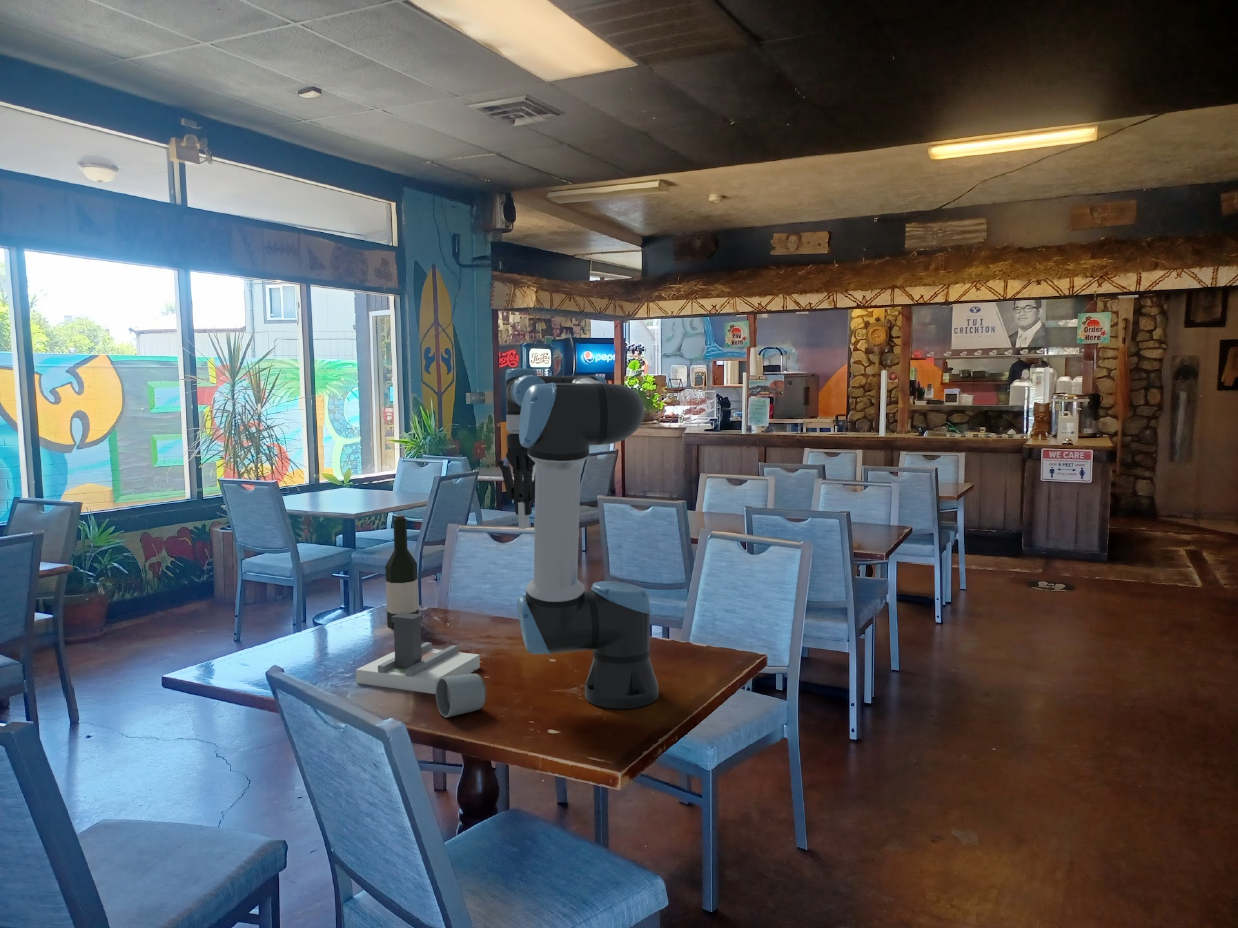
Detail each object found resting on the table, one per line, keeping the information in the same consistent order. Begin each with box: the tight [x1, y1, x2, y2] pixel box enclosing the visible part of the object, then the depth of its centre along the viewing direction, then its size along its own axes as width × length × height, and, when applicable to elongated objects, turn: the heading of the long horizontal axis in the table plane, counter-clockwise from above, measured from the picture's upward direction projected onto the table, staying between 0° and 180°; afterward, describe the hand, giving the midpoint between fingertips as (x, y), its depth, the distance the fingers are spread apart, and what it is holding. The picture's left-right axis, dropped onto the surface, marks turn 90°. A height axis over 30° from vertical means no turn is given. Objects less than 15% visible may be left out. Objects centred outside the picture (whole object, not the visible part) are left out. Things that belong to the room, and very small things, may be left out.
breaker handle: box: [391, 613, 424, 668], centre depth 180 cm, size 6×4×11 cm, turn 69°
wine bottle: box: [385, 514, 420, 630], centre depth 224 cm, size 8×8×30 cm
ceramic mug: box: [435, 672, 488, 718], centre depth 163 cm, size 11×8×8 cm
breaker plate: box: [355, 641, 481, 695], centre depth 184 cm, size 20×18×4 cm
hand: (523, 527), depth 204 cm, fingers closed
